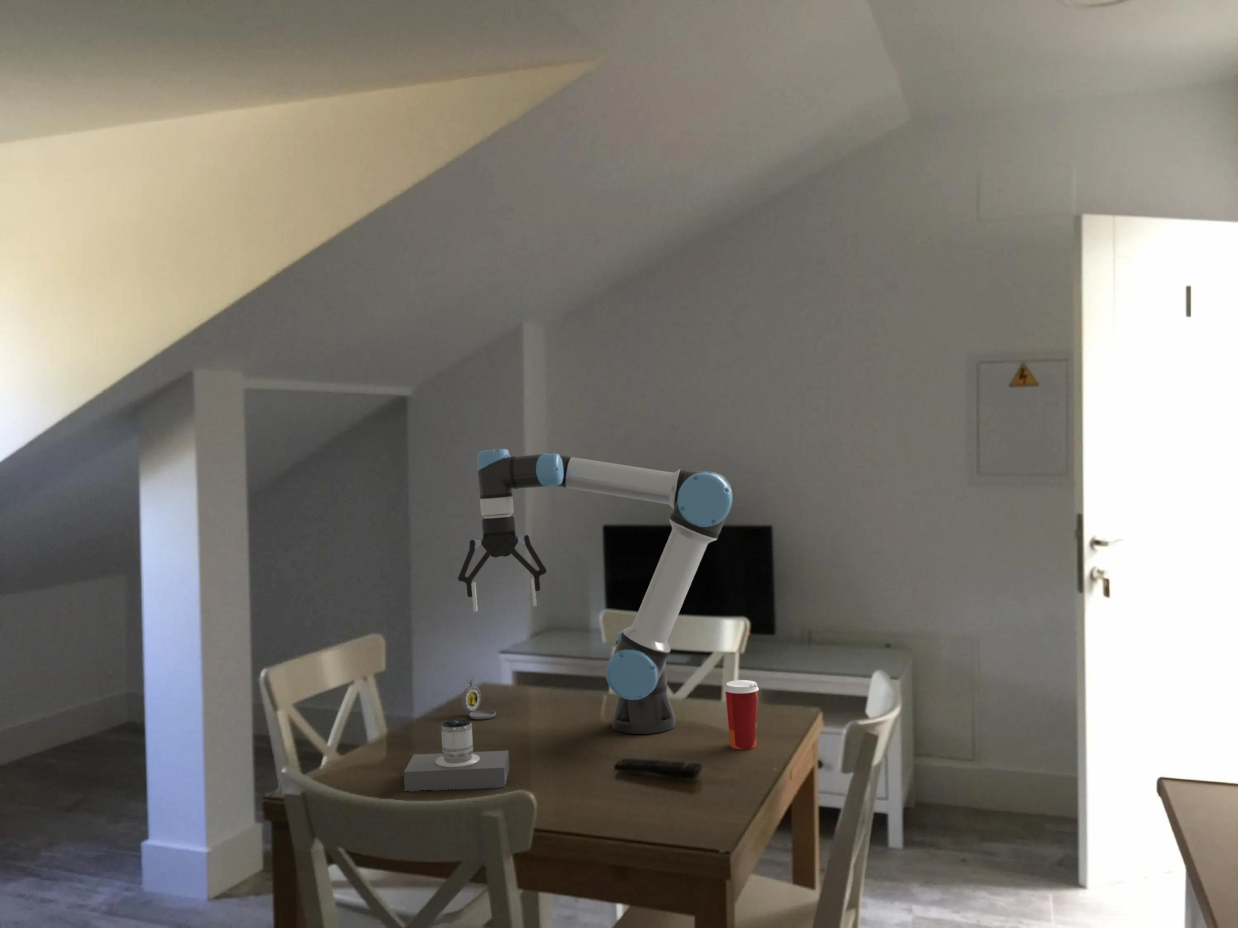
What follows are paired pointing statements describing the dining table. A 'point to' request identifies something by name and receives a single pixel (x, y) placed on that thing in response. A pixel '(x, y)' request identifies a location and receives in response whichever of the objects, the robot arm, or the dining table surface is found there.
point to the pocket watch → (474, 703)
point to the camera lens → (457, 741)
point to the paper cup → (742, 713)
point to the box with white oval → (457, 772)
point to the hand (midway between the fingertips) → (505, 608)
